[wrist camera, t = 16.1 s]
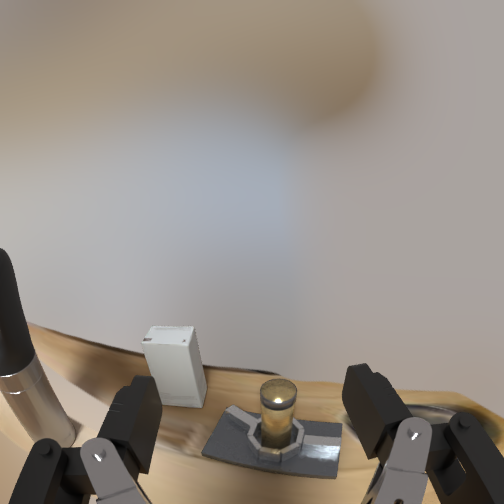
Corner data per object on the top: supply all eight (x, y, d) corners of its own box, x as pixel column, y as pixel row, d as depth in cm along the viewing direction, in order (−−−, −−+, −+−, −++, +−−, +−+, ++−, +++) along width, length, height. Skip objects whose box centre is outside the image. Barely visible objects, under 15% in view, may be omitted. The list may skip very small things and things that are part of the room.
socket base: (202, 455, 33) (198, 443, 32) (227, 410, 43) (225, 397, 42) (335, 479, 28) (340, 468, 27) (341, 426, 38) (345, 414, 37)
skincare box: (207, 389, 49) (198, 325, 45) (202, 410, 43) (190, 344, 39) (167, 385, 49) (152, 322, 46) (158, 405, 44) (139, 340, 40)
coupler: (257, 450, 34) (256, 399, 30) (264, 429, 38) (265, 376, 35) (287, 455, 32) (293, 404, 29) (293, 433, 37) (299, 381, 33)
